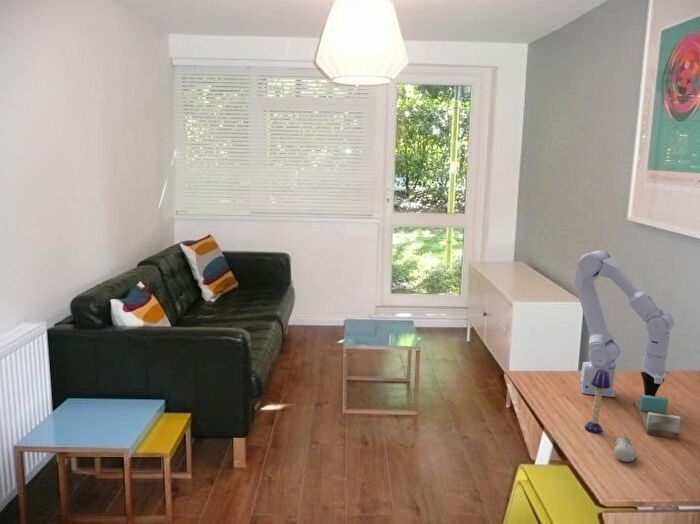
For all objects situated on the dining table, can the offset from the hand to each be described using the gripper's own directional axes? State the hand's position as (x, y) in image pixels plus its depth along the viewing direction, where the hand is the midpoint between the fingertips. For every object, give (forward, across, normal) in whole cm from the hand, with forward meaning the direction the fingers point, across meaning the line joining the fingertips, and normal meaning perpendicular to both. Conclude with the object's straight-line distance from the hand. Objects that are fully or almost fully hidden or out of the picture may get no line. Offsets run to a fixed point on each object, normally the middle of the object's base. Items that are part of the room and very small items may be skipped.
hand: (649, 397), depth 172 cm
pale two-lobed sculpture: (+3, -34, +12) cm, 36 cm away
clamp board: (+3, -10, 0) cm, 10 cm away
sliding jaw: (+1, -7, +1) cm, 8 cm away
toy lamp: (+3, -21, +18) cm, 28 cm away
